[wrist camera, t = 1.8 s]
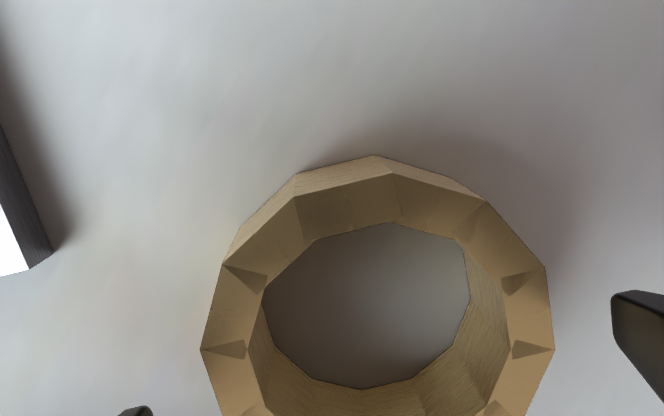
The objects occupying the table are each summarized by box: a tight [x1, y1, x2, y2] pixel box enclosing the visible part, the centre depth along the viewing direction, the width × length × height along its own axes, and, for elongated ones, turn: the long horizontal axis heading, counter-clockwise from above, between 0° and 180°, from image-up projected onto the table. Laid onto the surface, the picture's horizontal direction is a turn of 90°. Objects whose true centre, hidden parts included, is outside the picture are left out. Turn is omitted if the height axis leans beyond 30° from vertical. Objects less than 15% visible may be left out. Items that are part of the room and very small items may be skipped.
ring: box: [200, 155, 555, 416], centre depth 10 cm, size 7×7×2 cm
